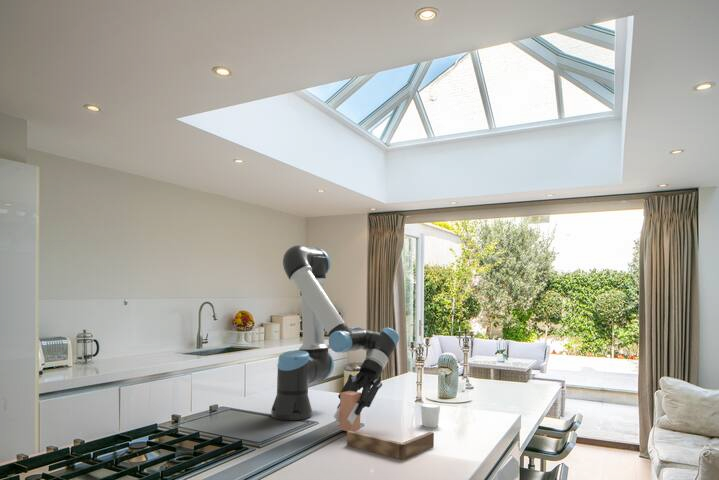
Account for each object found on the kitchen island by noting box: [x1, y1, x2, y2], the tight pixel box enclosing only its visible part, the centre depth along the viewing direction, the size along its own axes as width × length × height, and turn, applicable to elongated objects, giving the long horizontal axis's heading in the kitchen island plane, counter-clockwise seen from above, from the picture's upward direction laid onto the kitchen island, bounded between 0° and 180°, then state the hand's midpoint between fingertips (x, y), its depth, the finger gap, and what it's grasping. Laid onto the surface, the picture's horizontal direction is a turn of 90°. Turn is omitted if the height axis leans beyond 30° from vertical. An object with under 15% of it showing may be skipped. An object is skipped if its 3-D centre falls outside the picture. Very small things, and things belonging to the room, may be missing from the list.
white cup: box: [420, 403, 441, 428], centre depth 184 cm, size 7×7×7 cm
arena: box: [346, 431, 435, 461], centre depth 158 cm, size 20×18×4 cm
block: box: [338, 391, 362, 432], centre depth 173 cm, size 5×5×12 cm
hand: (342, 420), depth 170 cm, fingers closed on block, 5 cm apart
